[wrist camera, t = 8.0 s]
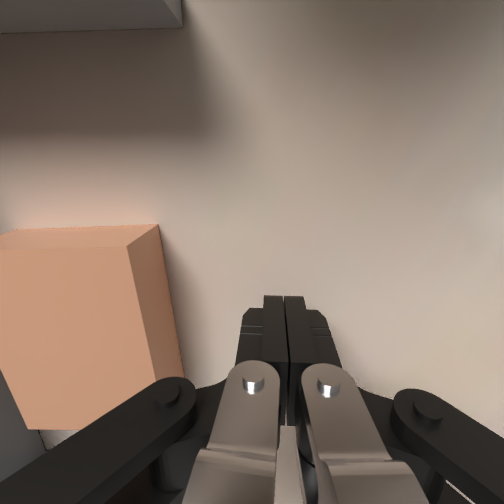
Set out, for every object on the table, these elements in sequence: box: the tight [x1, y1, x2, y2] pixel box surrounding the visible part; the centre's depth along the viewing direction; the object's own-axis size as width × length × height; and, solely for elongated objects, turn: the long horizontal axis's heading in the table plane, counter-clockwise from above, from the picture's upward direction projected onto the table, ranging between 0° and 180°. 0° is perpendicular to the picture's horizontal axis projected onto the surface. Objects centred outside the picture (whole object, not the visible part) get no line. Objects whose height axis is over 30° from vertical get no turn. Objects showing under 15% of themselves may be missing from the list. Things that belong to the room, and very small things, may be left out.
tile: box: [0, 224, 184, 430], centre depth 12 cm, size 6×8×3 cm
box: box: [0, 0, 183, 482], centre depth 11 cm, size 11×22×4 cm, turn 0°
